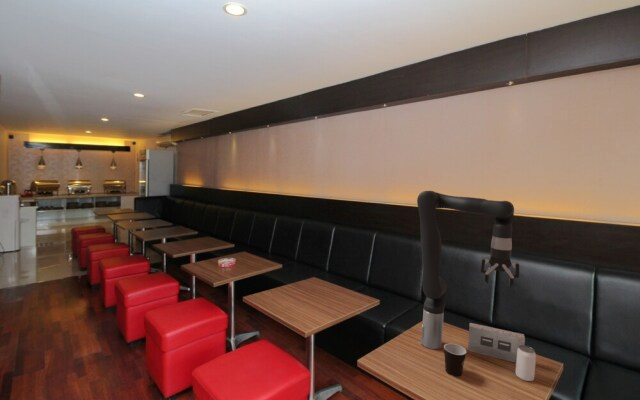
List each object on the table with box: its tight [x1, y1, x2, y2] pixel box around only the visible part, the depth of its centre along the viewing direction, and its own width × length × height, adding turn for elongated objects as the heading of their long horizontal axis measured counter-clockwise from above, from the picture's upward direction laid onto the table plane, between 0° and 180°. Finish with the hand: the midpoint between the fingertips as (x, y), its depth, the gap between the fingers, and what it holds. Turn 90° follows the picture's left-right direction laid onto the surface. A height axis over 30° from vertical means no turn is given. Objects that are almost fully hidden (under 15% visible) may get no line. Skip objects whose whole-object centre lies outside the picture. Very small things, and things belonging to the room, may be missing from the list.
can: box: [515, 344, 537, 382], centre depth 127 cm, size 6×6×12 cm
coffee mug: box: [443, 343, 467, 378], centre depth 130 cm, size 12×9×10 cm
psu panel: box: [467, 322, 526, 364], centre depth 142 cm, size 22×4×12 cm, turn 63°
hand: (498, 284), depth 133 cm, fingers open, 8 cm apart
